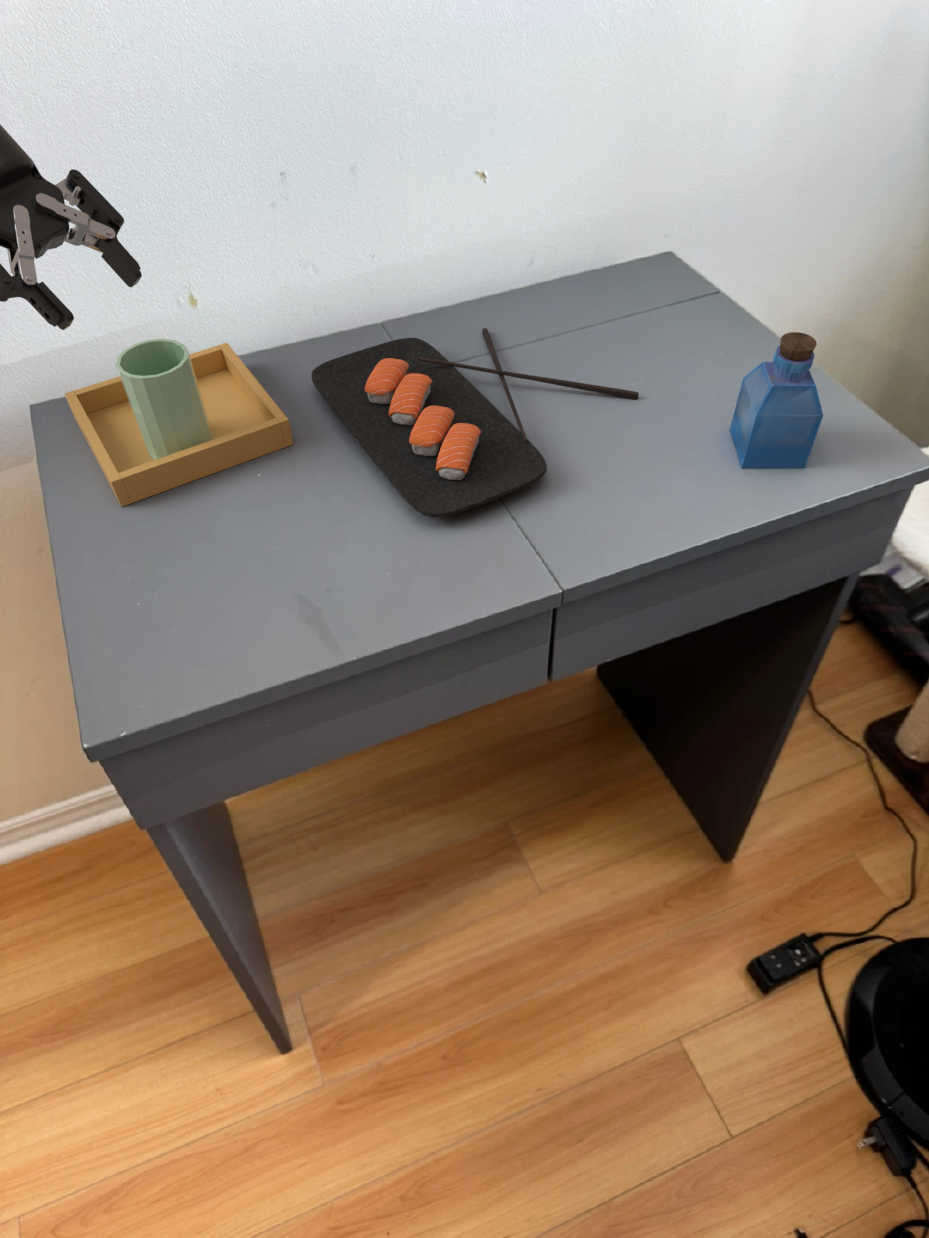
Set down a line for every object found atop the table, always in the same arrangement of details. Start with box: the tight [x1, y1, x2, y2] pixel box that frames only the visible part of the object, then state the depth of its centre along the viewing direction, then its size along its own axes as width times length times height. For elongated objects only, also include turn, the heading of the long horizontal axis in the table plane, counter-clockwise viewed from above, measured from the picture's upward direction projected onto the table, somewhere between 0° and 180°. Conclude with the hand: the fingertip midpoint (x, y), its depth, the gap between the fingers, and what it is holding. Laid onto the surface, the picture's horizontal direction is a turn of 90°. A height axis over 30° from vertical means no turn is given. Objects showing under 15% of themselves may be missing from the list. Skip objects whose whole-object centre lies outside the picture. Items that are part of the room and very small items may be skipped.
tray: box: [64, 342, 294, 508], centre depth 90 cm, size 18×17×3 cm
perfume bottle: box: [729, 331, 824, 469], centre depth 83 cm, size 6×6×12 cm
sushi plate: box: [310, 327, 640, 518], centre depth 92 cm, size 29×30×4 cm
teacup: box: [115, 338, 213, 460], centre depth 85 cm, size 7×7×10 cm
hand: (104, 302), depth 79 cm, fingers open, 8 cm apart
